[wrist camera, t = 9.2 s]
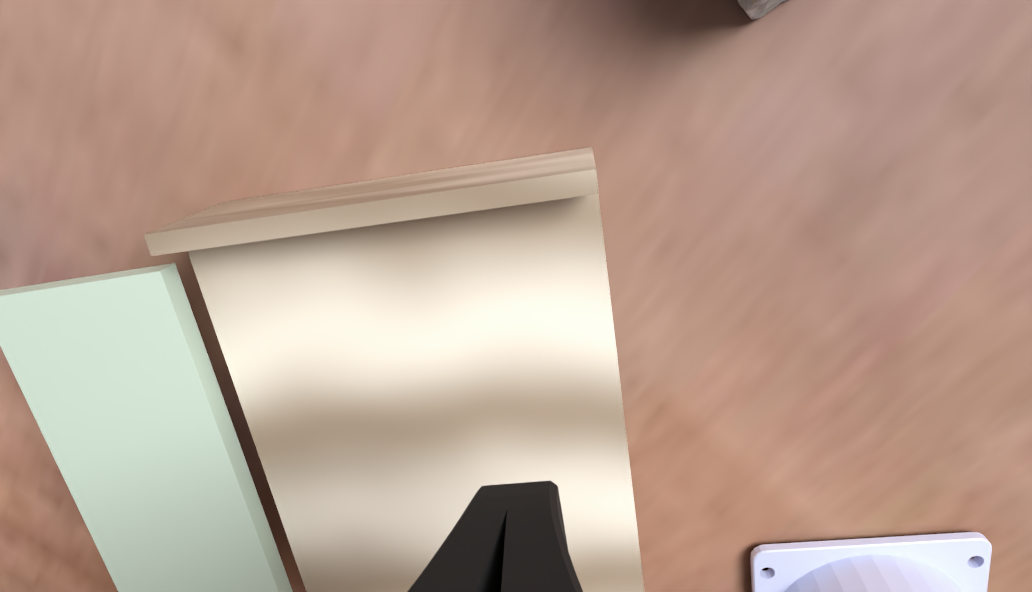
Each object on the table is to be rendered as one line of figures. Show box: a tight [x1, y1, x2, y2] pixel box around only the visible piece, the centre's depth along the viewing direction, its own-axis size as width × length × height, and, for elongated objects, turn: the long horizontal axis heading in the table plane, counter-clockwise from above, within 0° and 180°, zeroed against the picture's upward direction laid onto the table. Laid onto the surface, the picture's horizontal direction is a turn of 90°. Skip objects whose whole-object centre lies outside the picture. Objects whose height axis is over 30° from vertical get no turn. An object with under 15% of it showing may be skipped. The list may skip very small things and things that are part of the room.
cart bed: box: [144, 147, 644, 592], centre depth 20 cm, size 16×12×4 cm
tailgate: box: [0, 263, 293, 592], centre depth 21 cm, size 14×1×6 cm
